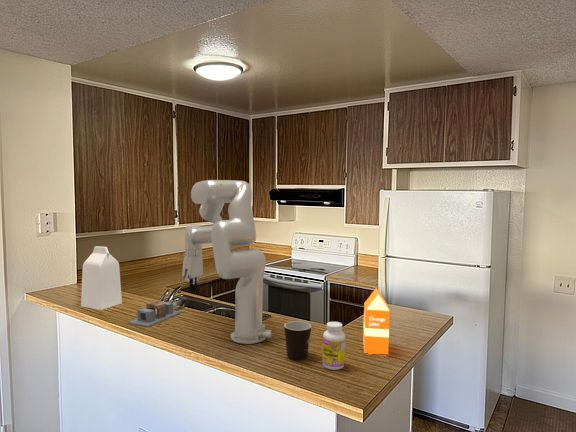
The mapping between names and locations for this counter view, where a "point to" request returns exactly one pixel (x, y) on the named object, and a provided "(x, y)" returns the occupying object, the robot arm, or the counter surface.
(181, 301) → the shaft
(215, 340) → the counter surface
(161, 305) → the block
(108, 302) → the milk
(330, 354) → the supplement bottle
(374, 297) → the orange juice
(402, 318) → the counter surface
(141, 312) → the bearing block
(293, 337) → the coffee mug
